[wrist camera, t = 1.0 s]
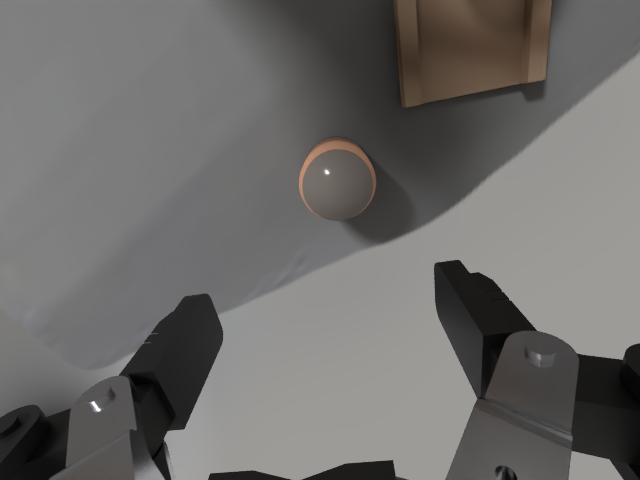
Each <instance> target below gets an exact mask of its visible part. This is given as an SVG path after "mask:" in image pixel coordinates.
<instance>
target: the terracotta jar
mask: <svg viewBox="0 0 640 480" xmlns="http://www.w3.org/2000/svg"><path fill="white" fill-rule="evenodd" d="M299 189H300V193H301V196H302V199H303V201H304V202H305V204H306V205H307V207H308V208H309V209H310V210H311V211H312V212H313V213H315V214H316V215H318V216H320V217H322V218H324V219H328V220H334V221H340V220H346V219H350V218H352V217H354V216H356V215H358V214H359V213H361V212H362V211H363V210H364V209H365V208H366V207H367V206H368V205H369V203H370V202H371V200H372V198H373V196H374V193H375V189H376V176H375V172H374V169H373V166H372V164H371V163H370V161H369V159H368V158H367V156H366V154H365V153H364V151H363V150H362V148H361V147H360V146H359V145H358V144H357V143H356V142H354V141H352V140H350V139H348V138H345V137H330V138H326V139H324V140H322V141H320V142H319V143H317V144H316V145H315V146H314V147H313V148H312V149H311V151H310V152H309V154H308V156H307V158H306V161H305V163H304V165H303V168H302V170H301V173H300V178H299Z"/></svg>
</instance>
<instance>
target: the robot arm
mask: <svg viewBox="0 0 640 480" xmlns="http://www.w3.org/2000/svg"><path fill="white" fill-rule="evenodd" d="M434 275H435V277H434V279H435V303H436V309H437V314H438V317H439V320H440V322H441V324H442V326H443V328H444V330H445V332H446V334H447V336H448V338H449V340H450V342H451V344H452V347H453V349H454V351H455V353H456V355H457V357H458V359H459V361H460V363H461V365H462V367H463V369H464V371H465V374H466V376H467V378H468V380H469V382H470V384H471V386H472V388H473V390H474V392H475V394H476V396H477V401H476V403H475V405H474V408H473V410H472V413H471V415H470V418H469V420H468V423H467V426H466V428H465V431H464V433H463V436H462V438H461V441H460V444H459V446H458V449H457V451H456V454H455V456H454V459H453V462H452V464H451V467H450V469H449V472H448V474H447V477H446V479H445V480H568V477H569V468H570V459H571V451H575V452H580V453H584V454H588V455H593V456H597V457H602V458H606V459H610V461H611V462H612V464H613V465H614V466H615V468H616V469H617V471H618V472H619V474H620V475H621V476H622V478H623V479H624V480H640V344H635V345H633V346H630V347H629V348H628V349H627V350H626V352H625V355H624V358H623V360H619V359H611V358H603V357H595V356H586V355H581V354H577V353H576V352H575V351H574V349H573V348H572V347H571V346H570V345H568V344H567V343H565V342H564V341H563V340H561V339H559V338H557V337H555V336H553V335H550V334H547V333H543V332H539V331H537V330H536V329H535V328H534V327H533V325H532V324H531V323H530V322H529V321H528V320H527V319H526V317H525V316H524V315H523V314H522V313H521V312H520V311H519V309H518V308H517V307H516V306H515V305H514V304H513V303H512V301H509V298H508V297H507V296H506V295H505V294H504V293H503V292H502V290H501V289H500V288H499V287H498V285H497V284H496V283H495V282H494V281H493V280H492V279H490V278H488V277H486V276H484V275H483V274H481V273H479V272H477V273H469V272H468V271H467V269H466V268H465V266H464V265H463V264H462V263H461V261H459V260H454V261H446V262H438V263H435V265H434ZM222 342H223V330H222V326H221V323H220V321H219V318H218V316H217V313H216V310H215V308H214V305H213V303H212V300H211V298H210V296H209V295H208V294H199V295H192V296H186V297H184V298H183V299H182V301H181V302H180V303H179V305H178V306H177V307H176V309H175V310H174V312H171V313H170V314H169V315H168V316H166V317H165V318H164V319H163V320H161V321H160V322H159V323H158V325H157V326H156V327H155V329H154V330H153V331H152V332H151V335H149V336H148V338H147V339H146V340H145V342H144V344H142V346H141V347H140V348H139V350H138V351H137V352H136V353H135V355H134V356H133V357H132V359H131V360H130V361H129V363H128V364H127V365H126V367H125V368H124V369H123V371H122V372H121V373H120V374H119V376H114V377H110V378H108V379H105V380H103V381H100V382H99V383H97V384H95V385H94V386H92V387H91V388H89V389H88V390H87V391H86V392H84V393H83V394H82V395H81V396H80V397H79V398H78V399H77V400H76V402H75V403H74V405H73V406H72V408H71V409H68V410H65V411H63V412H60V413H57V414H54V415H52V416H48V417H46V416H45V414H44V413H43V412H42V411H41V409H40V408H39V407H38V406H36V405H28V406H24V407H21V408H18V409H16V410H13V411H11V412H9V413H7V414H6V415H4V416H2V417H1V418H0V480H176V479H175V475H174V471H173V467H172V463H171V459H170V455H169V451H168V447H167V444H166V442H165V441H164V437H165V435H166V433H167V431H170V430H182V429H185V426H186V424H187V422H188V420H189V417H190V415H191V413H192V411H193V408H194V406H195V404H196V402H197V399H198V397H199V395H200V393H201V390H202V388H203V386H204V384H205V381H206V379H207V377H208V374H209V372H210V370H211V368H212V365H213V363H214V361H215V359H216V356H217V354H218V352H219V350H220V347H221V345H222ZM208 480H290V479H286V478H282V477H278V476H273V475H269V474H265V473H261V472H257V471H239V472H226V473H212V474H210V475H209V479H208ZM303 480H407V479H404V478H399V477H396V476H395V470H394V464H393V460H389V461H376V462H362V463H348V464H344V465H341V466H338V467H335V468H333V469H330V470H327V471H324V472H322V473H319V474H316V475H313V476H311V477H308V478H305V479H303Z"/></svg>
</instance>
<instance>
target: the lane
mask: <svg viewBox="0 0 640 480" xmlns="http://www.w3.org/2000/svg"><path fill="white" fill-rule="evenodd" d="M551 5H552V0H393V11H394V23H395V35H396V47H397V59H398V71H399V83H400V95H401V107H402V108H408V107H413V106H418V105H422V104H423V103H428V102H433V101H438V100H443V99H448V98H453V97H457V96H462V95H467V94H472V93H477V92H482V91H487V90H492V89H497V88H502V87H506V86H511V85H516V84H523V83H531V82H536V81H541V80H545V77H546V65H547V53H548V41H549V29H550V17H551Z"/></svg>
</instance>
